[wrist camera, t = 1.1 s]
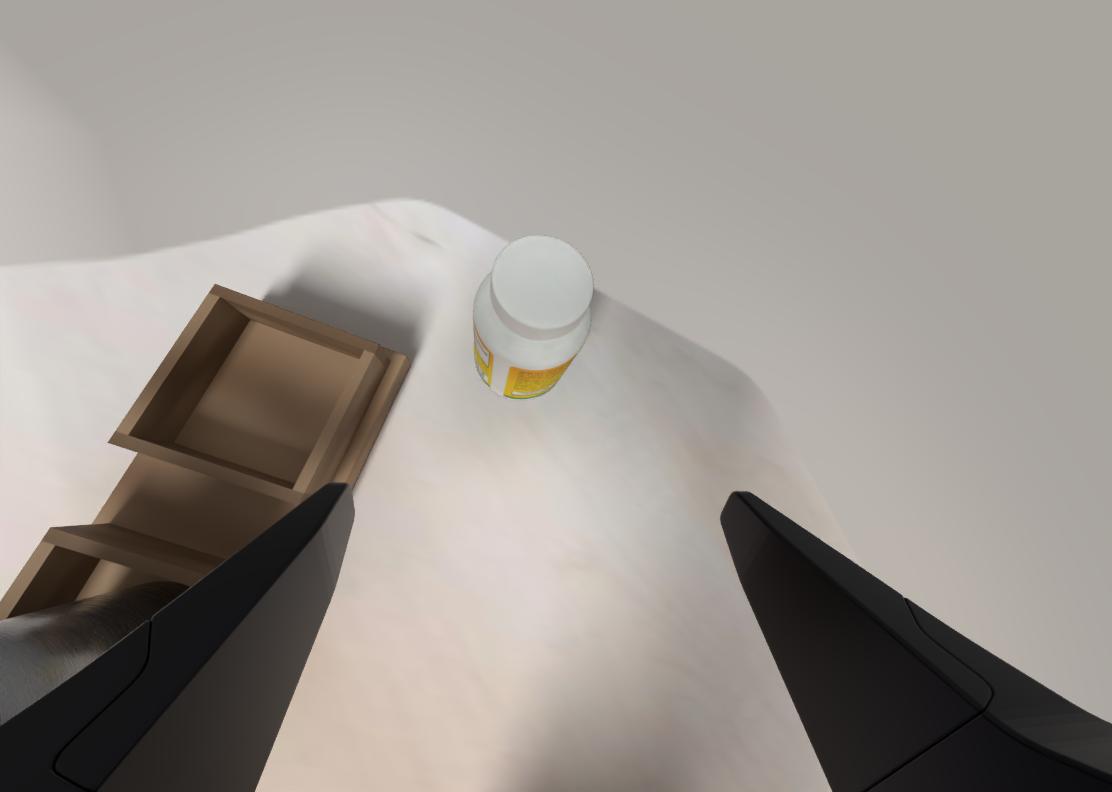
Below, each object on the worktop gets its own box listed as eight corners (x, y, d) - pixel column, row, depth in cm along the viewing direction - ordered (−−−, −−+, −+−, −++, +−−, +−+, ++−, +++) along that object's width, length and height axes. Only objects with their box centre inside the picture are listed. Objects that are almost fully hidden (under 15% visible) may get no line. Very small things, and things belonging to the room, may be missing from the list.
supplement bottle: (457, 370, 23) (440, 291, 14) (507, 304, 25) (520, 193, 16) (533, 420, 24) (566, 372, 14) (578, 350, 25) (633, 267, 16)
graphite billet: (218, 688, 17) (-131, 945, 7) (72, 734, 16) (-570, 1109, 6) (210, 566, 18) (-106, 649, 8) (73, 600, 17) (-480, 743, 7)
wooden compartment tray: (255, 307, 22) (208, 268, 18) (410, 364, 23) (396, 338, 19) (-1, 717, 16) (-147, 784, 13) (217, 775, 17) (141, 854, 13)
